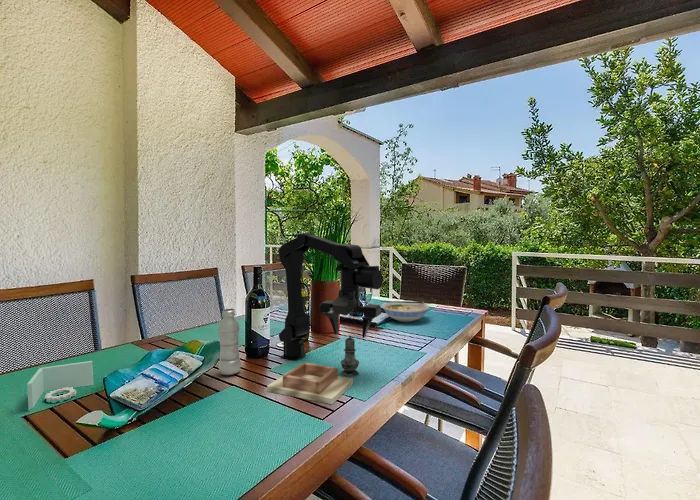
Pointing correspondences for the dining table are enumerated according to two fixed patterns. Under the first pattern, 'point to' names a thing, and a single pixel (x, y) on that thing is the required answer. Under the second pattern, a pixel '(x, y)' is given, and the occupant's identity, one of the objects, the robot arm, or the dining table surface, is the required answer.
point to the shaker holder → (312, 383)
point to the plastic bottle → (229, 343)
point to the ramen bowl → (406, 310)
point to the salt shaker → (349, 358)
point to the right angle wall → (59, 381)
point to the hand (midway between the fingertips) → (349, 336)
